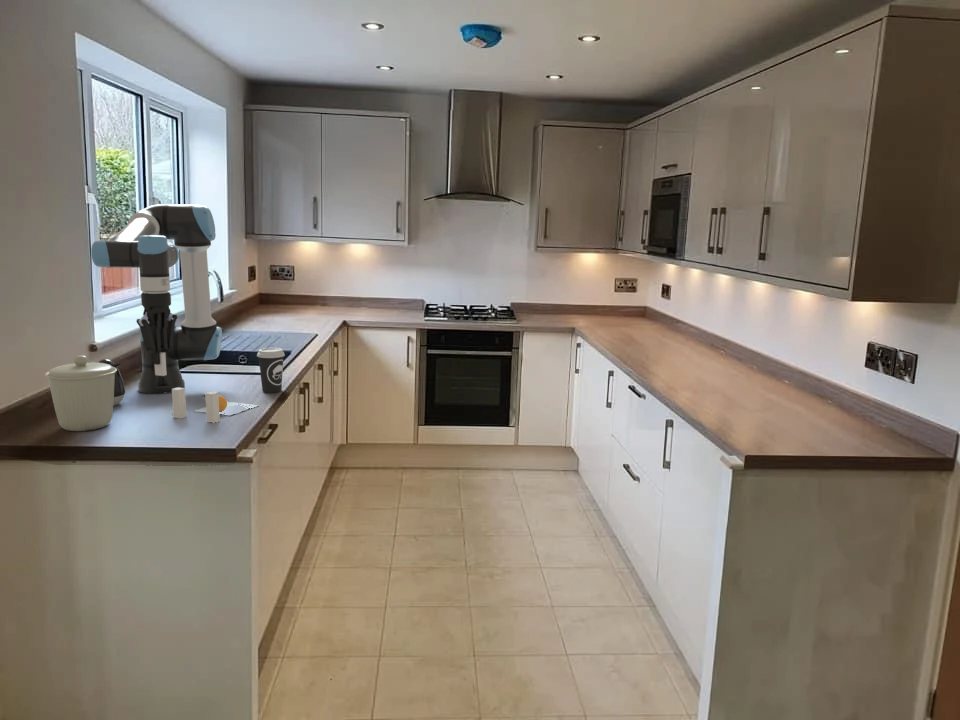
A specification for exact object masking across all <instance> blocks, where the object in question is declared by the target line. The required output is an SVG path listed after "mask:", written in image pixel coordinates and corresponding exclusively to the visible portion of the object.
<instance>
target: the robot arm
mask: <svg viewBox="0 0 960 720" xmlns="http://www.w3.org/2000/svg"><path fill="white" fill-rule="evenodd" d="M213 216H214V215H213V214H212V211H211V209H210V208H209V207H207V206H206V205H202V204H201V205H200V204H171V203H169V204H168V203H167V204H166V203H160V204H155V205H154V204H153V205H150V206H147V207H145V208H142V209H140V210H138V211H137V212H135V213H134V214H132V215H131V216H130V217H129V219H128V222H127V224H126V225H125V226H124V227H123V228H121V229H120V230H119V231H118V232H117V233H116V234H115V235H113V237H111V238H110V239H109V240H105V239H102V240H95V241H94V242H92V244H91V248H90V249H91V253H90V255H91V259H92V262H93V264H94V266H96V267H98V268H107V269H110V268H118V269H119V268H122V269H123V268H124V269H125V268H127V269H128V268H129V269H130V268H131V269H132V268H133V269H134V268H135V269H136V268H137V269H138V270H139V284H140V291H141V293H140V299H141V300H140V301H141V306H142V307H143V309H144V310H143V313H142V317H141V318H137V319H136V323H137V325H138V326H139V328H140V340H139V343H140V348H141V349H140V353H141V364H142V369H141V373H140V379H139V382H138V385H137V387H138V388H137V389H138V391H139V392H140V393H143V394H149V395H151V394H152V395H154V394H155V395H156V394H157V395H158V394H160V395H161V394H172V389H174V388H177V387H179V388H185V389H186V385H185V380H184V379H183V376H182V373H181V371H180V367H179V361H208V360H215V359H217V358H219V356H220V353H221V347H222V342H223V341H222V340H223V329H222V327H220V326H217V321H216V320H215V319H214V318H213V317H212V309H211V308H212V307H211V306H212V305H211V293H210V292H211V291H210V278H209V267H208V266H209V264H208V263H209V262H208V253H207V252H208V249H209V248H210V247H211V246H212V242H213V241H215V239H216V226H215V220H214V217H213ZM168 240H171V241H172V240H173V243H172V242H170V241H168ZM179 259H180V268H181V269H180V270H181V282H182V294H183V295H182V296H183V305H184V306H183V307H184V319H183V320H182V321H181V324H180V327H179V326H177V324H176V322H177V319H178V314H173V313H172V312H171V309H170V307H171V305H172V294H171V293H170V292H169V291H170V290H171V283H170V281H171V280H170V268H172V267H173V266H174V265H175V264H177V262H178V261H179Z"/></svg>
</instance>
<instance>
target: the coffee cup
mask: <svg viewBox="0 0 960 720" xmlns="http://www.w3.org/2000/svg"><path fill="white" fill-rule="evenodd" d="M285 354H286V353H285V352H284V350H283V349H282V348H280V347H265V348H260V349H258V352H257V354H256V357H258V363H259V364H258V365H259V372H260V374H259V375H260V382H261V390H262V392H263V393H265V392H266V394H276V393H280V392H282V388H283V387H282V385H283V369H284V357H285V356H286V355H285Z"/></svg>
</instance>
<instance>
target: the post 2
mask: <svg viewBox="0 0 960 720" xmlns="http://www.w3.org/2000/svg"><path fill="white" fill-rule="evenodd" d="M204 398H205V407H206V413H205V415H206V416H205V417H206V423H207V422H212V423H211V424H216V423H218V422H217V421H219V422H221V421H220V419H221V417H220V416H221V415H219V392H218V391H209V392H205V397H204ZM215 422H216V423H215Z"/></svg>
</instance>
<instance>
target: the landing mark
mask: <svg viewBox="0 0 960 720" xmlns="http://www.w3.org/2000/svg"><path fill="white" fill-rule="evenodd" d="M226 401H227V407H229V406H234V405H238V403H239V404H241V405H240V406H242V405H244V406H243V407H245V406H247V407H248V408H250V410H252V409H255V408H258V407H260V405H259V404H250V403H242V402H235V401H228V400H226ZM249 405H250V406H249ZM251 406H252V407H251ZM257 406H258V407H257ZM247 407H245V408H246V409H248V408H247ZM254 407H255V408H254ZM251 408H252V409H251ZM227 410H228V409H227ZM194 412H196V413H202V412H205V413H204V414H206V406H205V407H201V408H198V409H196V410H194ZM224 414H225V413H224ZM224 414H223V415H222V416H224Z"/></svg>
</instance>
